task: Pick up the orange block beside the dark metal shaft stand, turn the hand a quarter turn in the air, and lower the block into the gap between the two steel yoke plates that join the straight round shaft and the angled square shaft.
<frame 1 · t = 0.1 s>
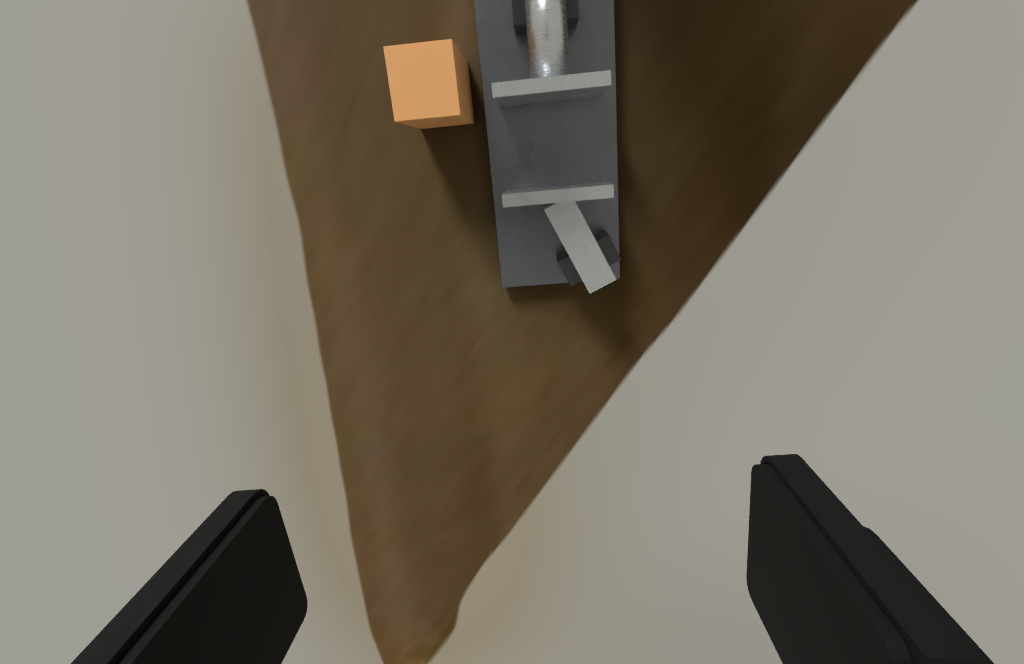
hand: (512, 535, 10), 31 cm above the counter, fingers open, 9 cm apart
shaft stand: (551, 145, 36), on the counter
orange block: (443, 96, 36), on the counter
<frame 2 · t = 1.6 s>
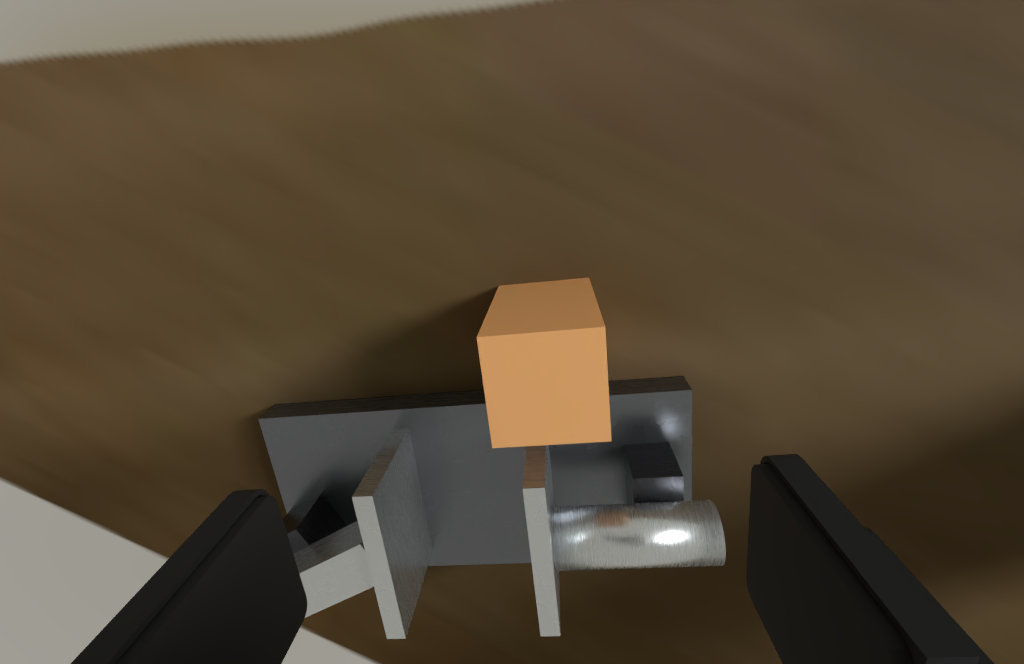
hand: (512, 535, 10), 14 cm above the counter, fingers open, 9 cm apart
shaft stand: (482, 471, 25), on the counter
orange block: (547, 324, 23), on the counter
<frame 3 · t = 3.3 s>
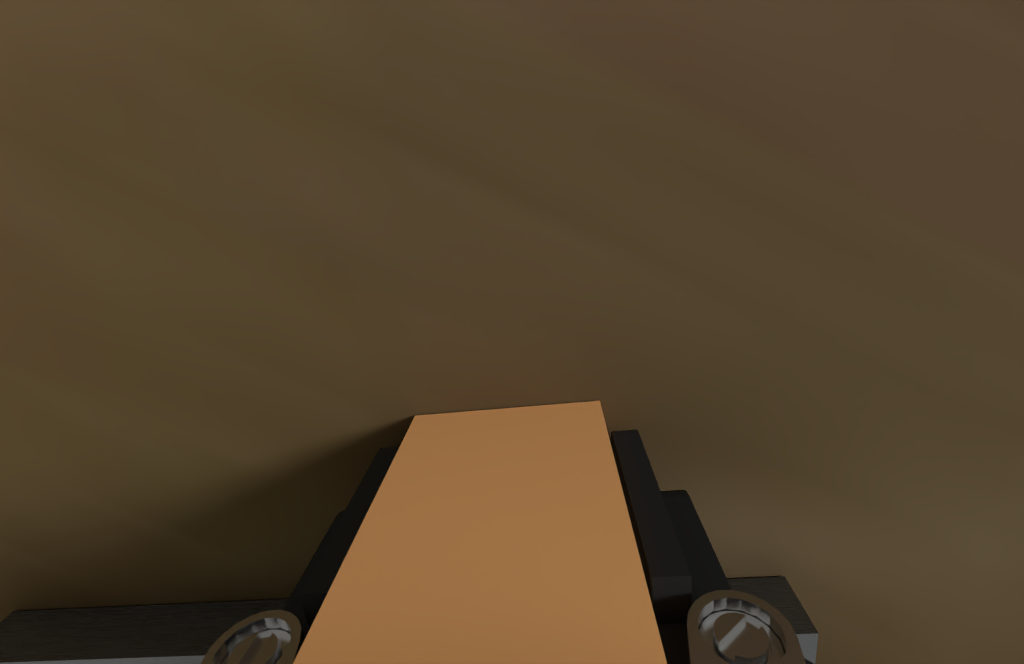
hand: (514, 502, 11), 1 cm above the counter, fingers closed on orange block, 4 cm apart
orange block: (516, 487, 11), on the counter, touching gripper
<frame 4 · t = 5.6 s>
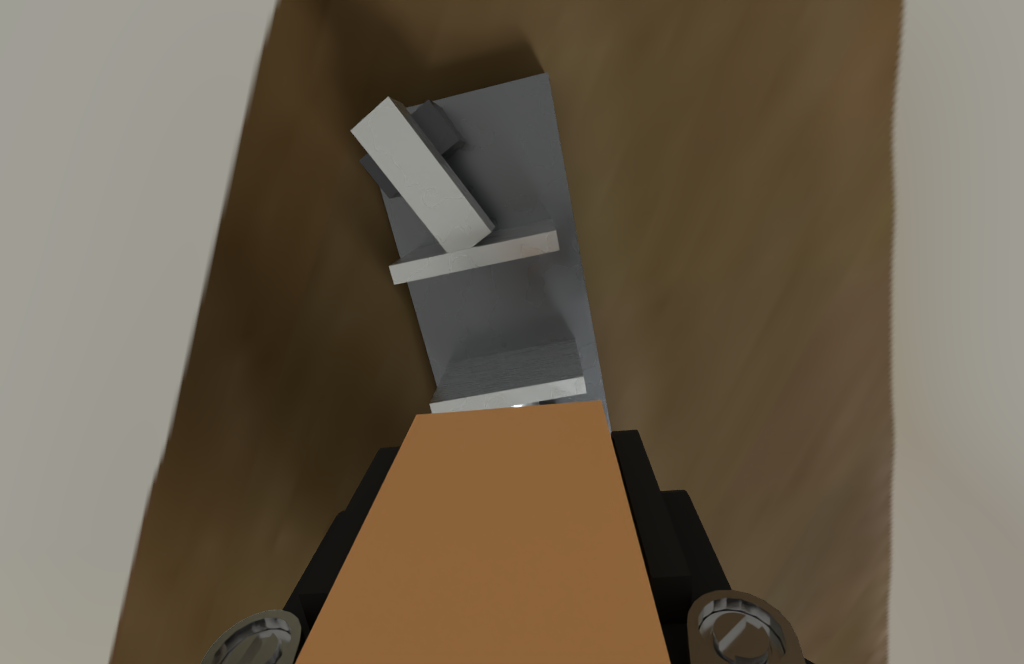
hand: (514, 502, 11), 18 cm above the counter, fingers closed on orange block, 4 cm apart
shaft stand: (501, 294, 27), on the counter
orange block: (517, 486, 11), point 17 cm above the counter, touching gripper
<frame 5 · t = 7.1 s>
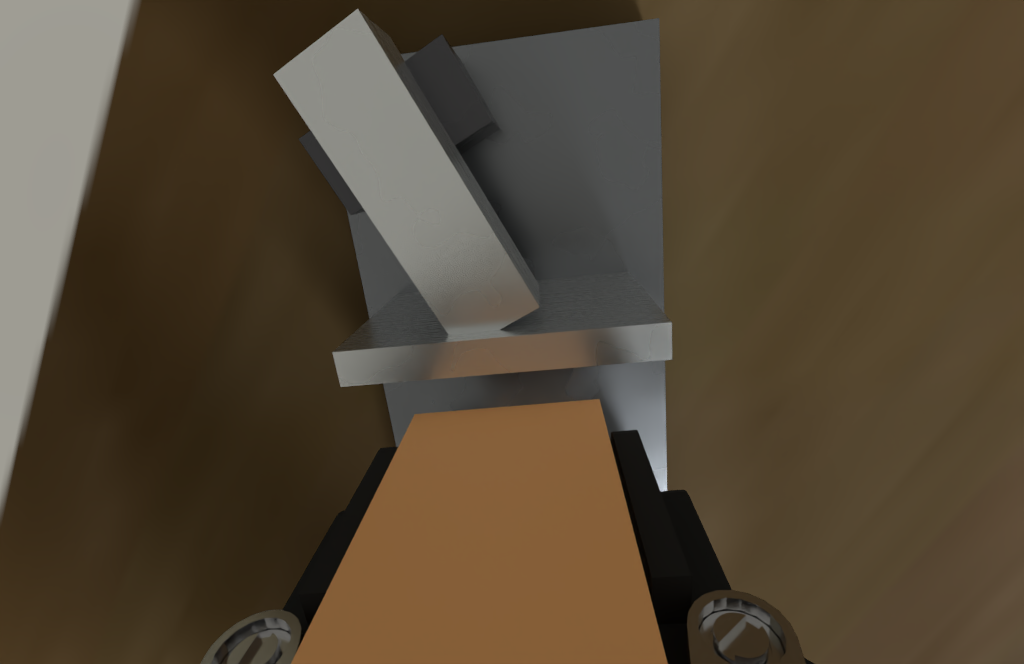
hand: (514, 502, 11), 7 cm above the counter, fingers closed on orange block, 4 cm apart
shaft stand: (524, 373, 17), on the counter
orange block: (516, 485, 11), point 6 cm above the counter, touching gripper
when the fingers open (3 cm above the counter, at t = 8.1 s): orange block drops 1 cm, resting on shaft stand.
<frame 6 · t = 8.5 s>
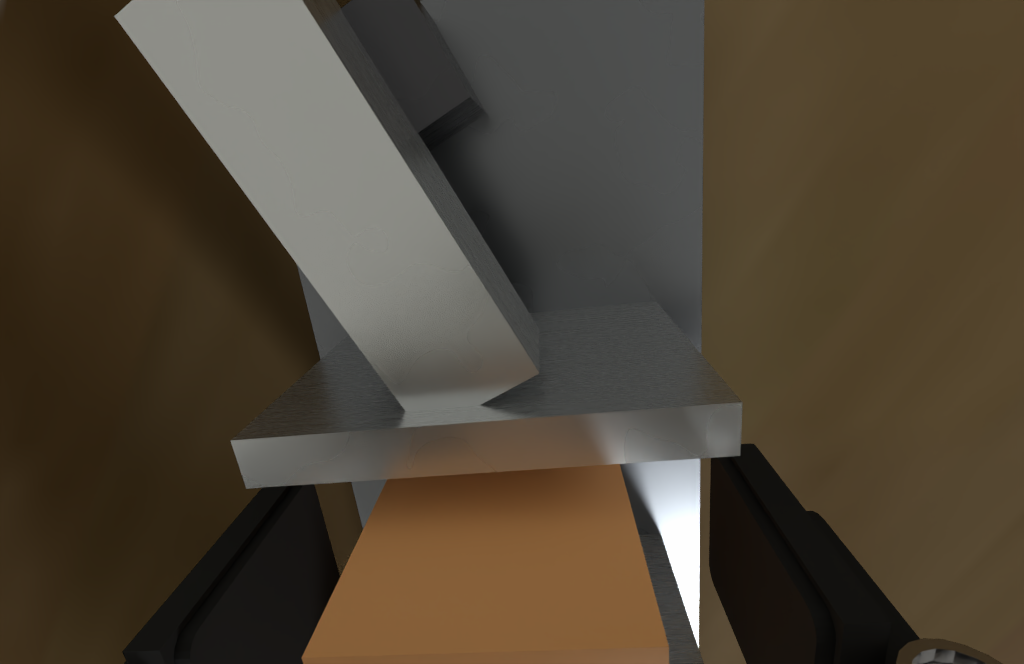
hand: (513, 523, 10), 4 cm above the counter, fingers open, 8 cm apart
shaft stand: (520, 422, 14), on the counter
orange block: (520, 454, 13), point 1 cm above the counter, touching shaft stand
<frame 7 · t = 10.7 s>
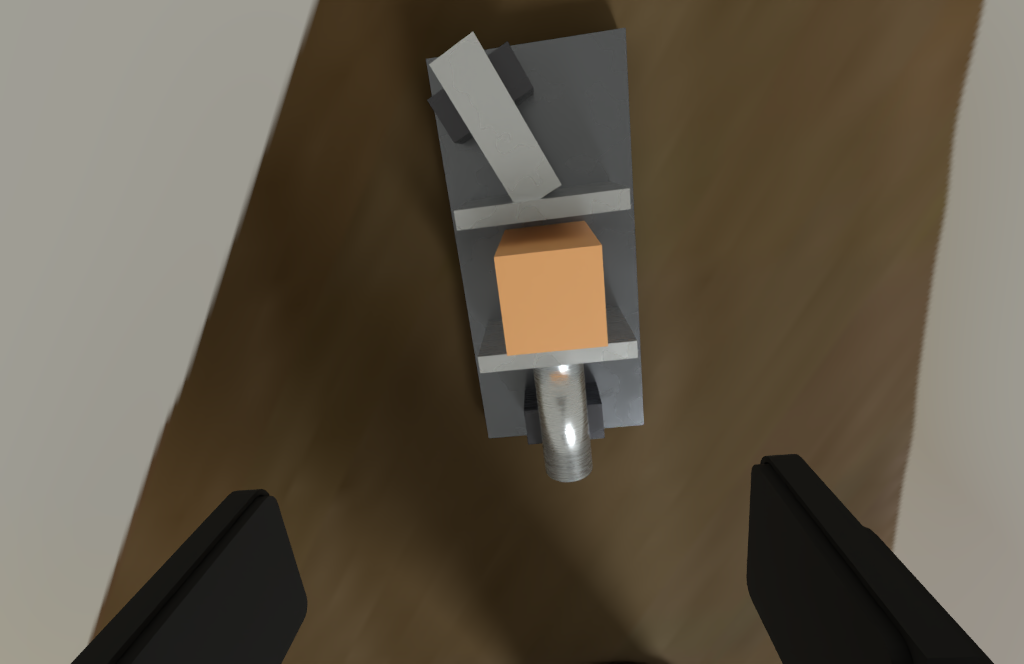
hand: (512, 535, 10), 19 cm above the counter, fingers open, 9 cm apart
shaft stand: (546, 256, 27), on the counter
orange block: (548, 264, 26), point 1 cm above the counter, touching shaft stand
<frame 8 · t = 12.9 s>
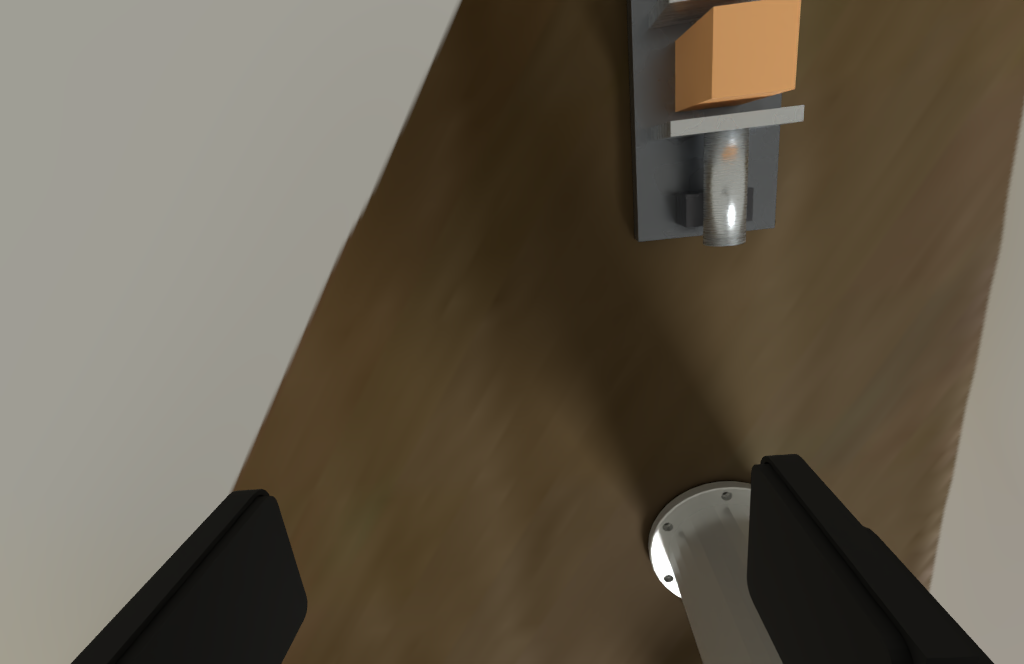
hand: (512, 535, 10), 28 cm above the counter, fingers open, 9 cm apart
shaft stand: (700, 75, 32), on the counter
orange block: (708, 73, 31), point 1 cm above the counter, touching shaft stand
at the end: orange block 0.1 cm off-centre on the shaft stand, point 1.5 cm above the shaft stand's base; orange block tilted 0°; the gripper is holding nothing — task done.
